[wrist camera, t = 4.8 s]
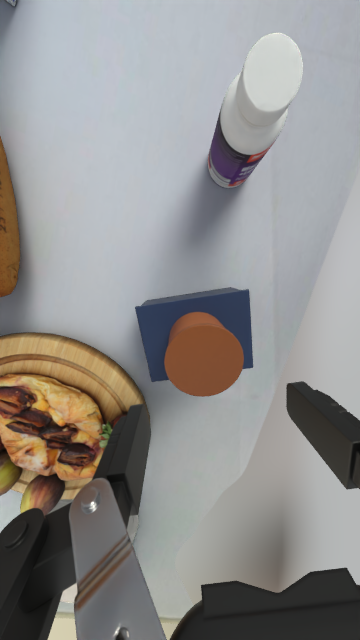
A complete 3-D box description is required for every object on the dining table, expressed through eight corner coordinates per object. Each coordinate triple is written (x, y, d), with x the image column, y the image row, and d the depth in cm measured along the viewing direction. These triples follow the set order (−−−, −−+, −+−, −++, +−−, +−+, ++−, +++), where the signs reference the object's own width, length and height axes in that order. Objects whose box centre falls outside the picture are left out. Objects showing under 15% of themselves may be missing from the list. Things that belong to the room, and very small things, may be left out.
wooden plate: (163, 346, 27) (158, 377, 19) (141, 494, 35) (130, 560, 27) (-60, 313, 25) (-172, 332, 17) (-30, 477, 33) (-96, 543, 25)
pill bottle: (234, 199, 22) (276, 143, 12) (198, 170, 21) (215, 88, 12) (262, 155, 21) (332, 57, 11) (225, 123, 20) (268, -11, 11)
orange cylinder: (223, 306, 19) (241, 318, 14) (228, 361, 21) (246, 391, 16) (163, 315, 19) (157, 331, 14) (172, 369, 21) (171, 401, 16)
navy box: (232, 285, 25) (249, 289, 19) (237, 347, 27) (253, 367, 21) (144, 299, 25) (135, 307, 19) (157, 359, 27) (151, 382, 22)
